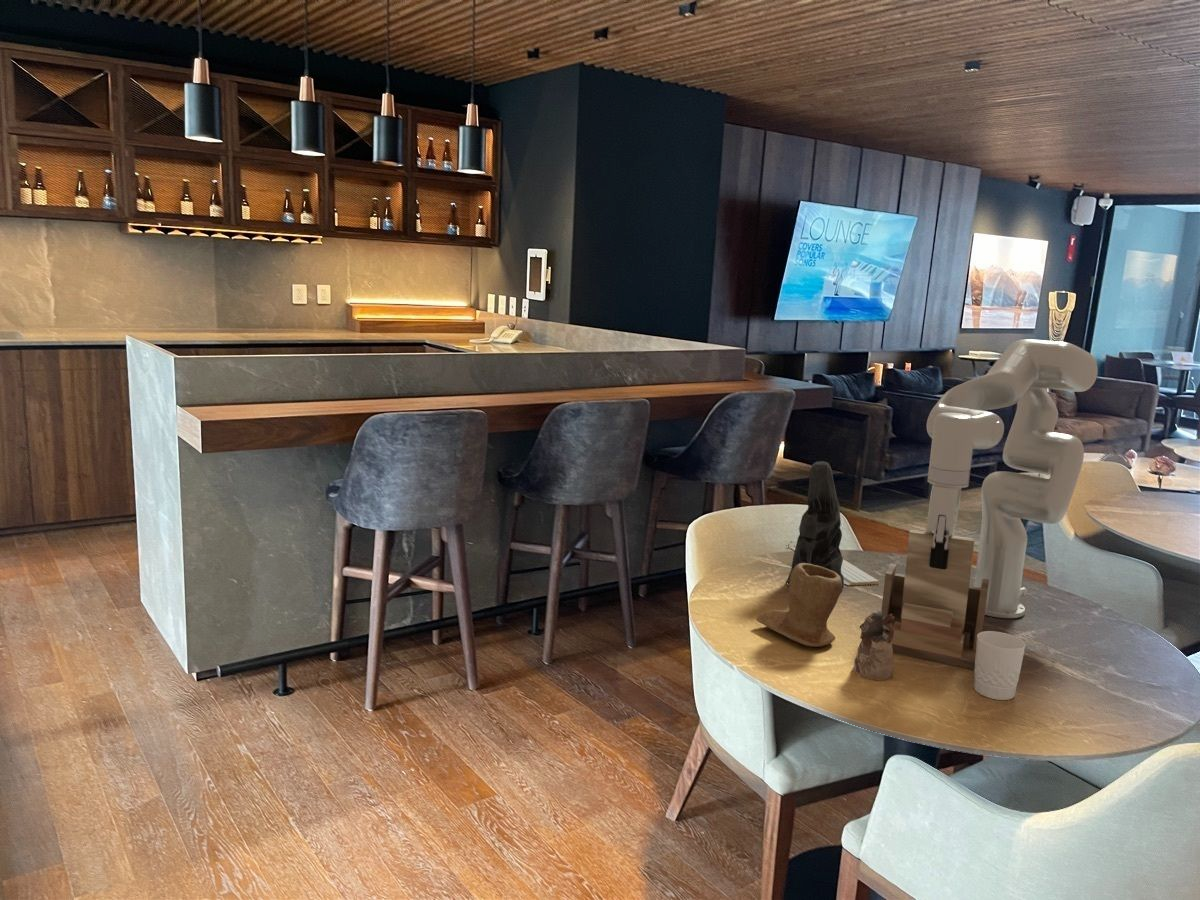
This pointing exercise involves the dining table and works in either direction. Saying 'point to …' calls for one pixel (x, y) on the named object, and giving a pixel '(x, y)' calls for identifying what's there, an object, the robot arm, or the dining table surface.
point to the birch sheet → (938, 575)
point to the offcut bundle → (929, 631)
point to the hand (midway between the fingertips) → (938, 565)
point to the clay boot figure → (807, 606)
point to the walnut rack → (971, 629)
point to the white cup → (998, 664)
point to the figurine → (875, 648)
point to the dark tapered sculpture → (820, 524)
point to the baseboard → (853, 574)
